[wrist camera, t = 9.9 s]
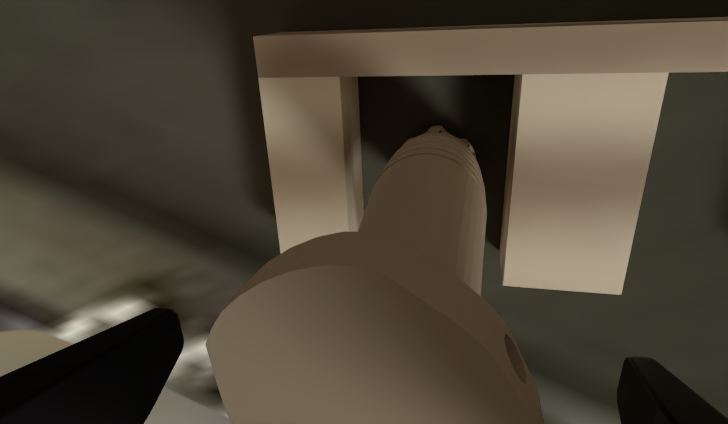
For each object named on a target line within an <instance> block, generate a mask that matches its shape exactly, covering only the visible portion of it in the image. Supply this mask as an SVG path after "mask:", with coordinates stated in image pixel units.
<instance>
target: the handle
mask: <svg viewBox="0 0 728 424" xmlns="http://www.w3.org/2000/svg"><path fill="white" fill-rule="evenodd" d="M486 220H487V207H486V196H485V187H484V183H483V179H482V175H481V171H480V168H479V165H478V162H477V160H476V154H475V151H474V149H473V146H472V145H471V143H470V142H469V141H468V140H467V139H460V138H457V137H455V136H453V135H451V134H450V133H448V132H447V131H446V130H445V129H444V128H443V126H432V127H430V128H429V130H428V131H427V132H426V133H424V134H421V135H419V136H417V137H415V138H413V137H412V138H410V139H408V140H407V141H406V142H405V143H404V145H403V146H402V147H401V148H400V149H399V150H397V152H396V153H395V154H394V155H393V156H392V157H391V159H390V160H389V161H388V163H387V164H386V165H385V167H384V168H383V170H382V172H381V174H380V176H379V178H378V179H377V181H376V183H375V185H374V187H373V190H372V192H371V195H370V198H369V201H368V204H367V207H366V210H365V212H364V215H363V218H362V221H361V224H360V227H359V229H358V232H339V233H334V234H329V235H324V236H320V237H316V238H313V239H311V240H308V241H306V242H303V243H301V244H298V245H296V246H293V247H291V248H289V249H288V250H286V251H285V252H283V253H281V254H280V255H278V256H276V257H275V258H273V259H272V260H270V261H268V262H267V263H266V264H265V265H264V266H263V267H262V268H261V269H260V270H259V271H257V272H256V273H255V274H254V275H253V276H252V277H251V278H250V279H249V280H248V281H247V282H246V283H245V284H244V285H243V286H242V288H241V289H240V290H239V291H238V292H237V293H236V295H235V296H234V297H233V298H232V299H231V301H230V302H229V303H228V304H227V306H226V307H225V308H224V309H223V310H222V312H221V313H220V315H219V317H218V318H217V320H216V322H215V323H214V325H213V327H212V329H211V331H210V334H209V337H208V340H207V342H206V347H207V351H208V354H209V358H210V361H211V365H212V368H213V372H214V375H215V379H216V382H217V385H218V388H219V391H220V395H221V398H222V401H223V404H224V407H225V410H226V412H227V414H228V416H229V418H230V421H231V423H232V424H544V420H543V415H542V410H541V405H540V400H539V395H538V391H537V389H536V386H535V384H534V382H533V379H532V377H531V375H530V373H529V370H528V368H527V366H526V363H525V361H524V359H523V357H522V355H521V353H520V351H519V348H518V346H517V344H516V342H515V340H514V338H513V336H512V333H511V331H510V329H509V328H508V327H507V325H506V324H505V323H504V321H503V320H502V319H501V318H500V316H499V315H498V314H497V312H496V311H495V310H494V309H493V308H492V307H491V306H490V305H489V304H488V303H487V302H486V301H485V300H484V299H483V298H482V297H481V282H482V267H483V254H484V243H485V231H486Z"/></svg>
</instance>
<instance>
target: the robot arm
mask: <svg viewBox="0 0 728 424" xmlns="http://www.w3.org/2000/svg"><path fill="white" fill-rule="evenodd" d="M183 345H184V338H183V334H182V330H181V326H180V322H179V318H178V314H177V312H176V311H175V310H173V309H168V308H154V309H152V310H150V311H148V312H145V313H143V314H141V315H139V316H136V317H134V318H132V319H129V320H127V321H125V322H123V323H120V324H118V325H116V326H114V327H111V328H109V329H107V330H105V331H102V332H100V333H98V334H96V335H93V336H91V337H89V338H87V339H84V340H82V341H80V342H78V343H75V344H73V345H71V346H69V347H66V348H64V349H62V350H60V351H57V352H55V353H53V354H51V355H48V356H46V357H44V358H42V359H39V360H37V361H35V362H33V363H30V364H28V365H26V366H24V367H21V368H19V369H17V370H15V371H12V372H10V373H8V374H6V375H3V376H1V377H0V424H144V422H145V420H146V419H147V417H148V415H149V414H150V412H151V410H152V408H153V406H154V405H155V403H156V401H157V399H158V397H159V395H160V393H161V391H162V389H163V387H164V385H165V383H166V381H167V379H168V377H169V375H170V373H171V371H172V369H173V367H174V365H175V364H176V362H177V360H178V358H179V356H180V354H181V352H182V349H183ZM617 405H618V410H619V415H620V420H621V424H728V418H727V417H725V416H724V415H723V414H722V413H720V412H719V411H718V410H717V409H715V408H714V407H713V406H712V405H710V404H709V403H708V402H707V401H705V400H704V399H703V398H702V397H700V396H699V395H698V394H697V393H695V392H694V391H693V390H692V389H690V388H689V387H688V386H687V385H685V384H684V383H683V382H682V381H680V380H679V379H678V378H677V377H675V376H674V375H673V374H672V373H670V372H669V371H668V370H667V369H665V368H664V367H663V366H662V365H660V364H659V363H658V362H657V361H655V360H654V359H652V358H647V357H637V356H628V357H627V358H626V359H625V360H624V363H623V367H622V371H621V376H620V380H619V384H618V388H617Z"/></svg>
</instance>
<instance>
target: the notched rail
mask: <svg viewBox="0 0 728 424" xmlns="http://www.w3.org/2000/svg"><path fill="white" fill-rule="evenodd" d="M253 41H254V48H255V56H256V64H257V72H258V80H259V88H260V96H261V103H262V111H263V119H264V127H265V135H266V143H267V150H268V158H269V166H270V174H271V182H272V190H273V197H274V205H275V213H276V221H277V229H278V237H279V244H280V252H281V253H283V252H285V251H286V250H288V249H289V248H291V247H293V246H296V245H298V244H301V243H303V242H306V241H308V240H311V239H313V238H316V237H320V236H324V235H329V234H334V233H339V232H358V229H359V227H360V224H361V221H362V218H363V215H364V204H363V181H362V159H361V136H360V114H359V91H358V77H363V76H439V75H515V76H514V88H513V99H512V111H511V123H510V134H509V146H508V157H507V169H506V181H505V192H504V204H503V215H502V227H501V239H500V250H499V252H500V262H501V271H502V281H503V286H514V287H527V288H539V289H552V290H565V291H578V292H591V293H604V294H617V295H621V293H622V288H623V284H624V279H625V274H626V270H627V265H628V260H629V256H630V251H631V246H632V242H633V237H634V232H635V228H636V223H637V218H638V214H639V209H640V204H641V200H642V195H643V190H644V186H645V181H646V176H647V172H648V167H649V162H650V158H651V153H652V148H653V144H654V139H655V134H656V130H657V125H658V120H659V115H660V111H661V106H662V101H663V97H664V92H665V87H666V83H667V78H668V73H669V72H728V17H703V18H674V19H645V20H616V21H588V22H559V23H530V24H502V25H473V26H444V27H415V28H387V29H358V30H329V31H301V32H280V33H273V34H266V35H260V36H253Z"/></svg>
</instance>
